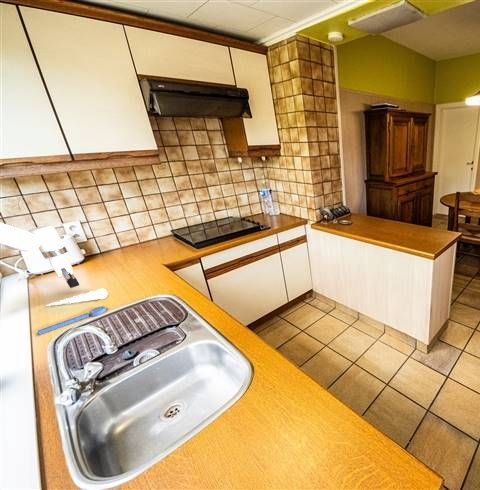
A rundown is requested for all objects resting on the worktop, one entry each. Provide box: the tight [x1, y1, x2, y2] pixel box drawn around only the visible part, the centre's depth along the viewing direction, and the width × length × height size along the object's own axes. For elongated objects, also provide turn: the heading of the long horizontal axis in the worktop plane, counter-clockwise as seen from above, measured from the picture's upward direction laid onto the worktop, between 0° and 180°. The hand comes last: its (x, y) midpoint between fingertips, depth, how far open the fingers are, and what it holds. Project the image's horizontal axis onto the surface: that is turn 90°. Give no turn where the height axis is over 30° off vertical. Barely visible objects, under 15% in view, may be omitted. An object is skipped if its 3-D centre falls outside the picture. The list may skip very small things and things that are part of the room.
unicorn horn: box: [45, 288, 108, 307], centre depth 122 cm, size 5×24×5 cm, turn 100°
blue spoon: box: [37, 305, 107, 335], centre depth 109 cm, size 20×5×1 cm, turn 136°
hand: (74, 286), depth 129 cm, fingers closed
